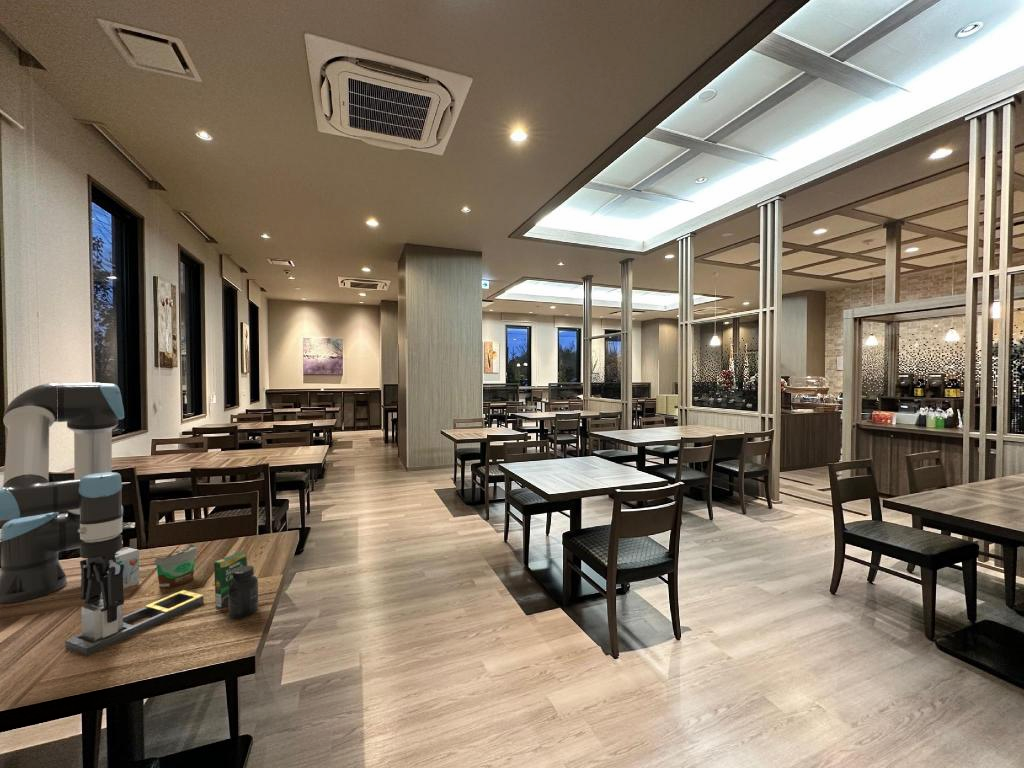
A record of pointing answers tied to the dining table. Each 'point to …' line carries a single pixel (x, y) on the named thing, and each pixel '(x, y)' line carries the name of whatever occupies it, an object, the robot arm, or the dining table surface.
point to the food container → (176, 568)
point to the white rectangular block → (96, 621)
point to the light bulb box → (128, 565)
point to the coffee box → (226, 576)
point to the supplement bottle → (243, 593)
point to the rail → (129, 630)
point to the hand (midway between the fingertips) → (102, 631)
